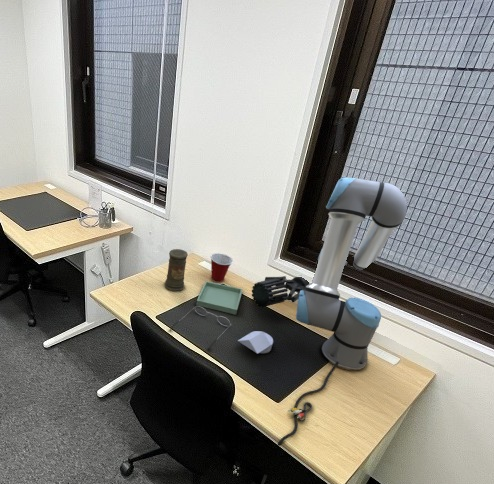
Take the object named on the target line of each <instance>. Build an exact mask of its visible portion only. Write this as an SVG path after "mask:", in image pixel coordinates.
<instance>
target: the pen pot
mask: <svg viewBox="0 0 494 484" xmlns="http://www.w3.org/2000/svg"><path fill="white" fill-rule="evenodd" d="M281 284H284V282H283V281H281V280H280V279H277V278H276V279H271V280H266V281H265V280H261V281H257V282H255V283H254V284H253V285H252V287H251V288H252V289H251V297H252V301H253V302H254V303H255V305H257V306H258V307H261V308H266V307H270V306H275V305H278V304H282V303H285V301H278V302H273V299H274V296H277V295H281V294H286V293H287V294H288V295H289V290H288V289H287V288H285V287H286V284H284V285H281ZM277 285H279V286H277Z"/></svg>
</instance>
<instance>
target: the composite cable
mask: <svg viewBox="0 0 494 484" xmlns="http://www.w3.org/2000/svg"><path fill="white" fill-rule="evenodd" d="M307 406H308V408H307ZM312 408H313V405H312V403H311V402H309V401H306V402H305V403H303V409H302V408H298V407H297V408H294V407H293V408H290V409H289V410H288V412H291V414H292V417H293V418H294V415H293V414H295V415H296V417H297V421H299V422H301V423H304V422H305V421H306V416H307V415H306V414H307V413H308V412H309V411H311V410H312ZM303 417H304V418H303Z"/></svg>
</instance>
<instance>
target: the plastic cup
mask: <svg viewBox="0 0 494 484" xmlns="http://www.w3.org/2000/svg"><path fill="white" fill-rule="evenodd" d="M210 260H211V261H210V263H211V266H210V267H211V268H210V269H211V270H210V271H211V273H210V274H211V280H212V281H213V282H215V283H221V282H224V281H225V277H226V275H227V273H228V270H229V268H230V266H231V265H232V264H233V262H234V260H233V258H232V256H229V255H227V254H225V253H221V252H215V253H211V255H210Z"/></svg>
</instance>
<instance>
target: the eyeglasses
mask: <svg viewBox="0 0 494 484" xmlns="http://www.w3.org/2000/svg"><path fill="white" fill-rule="evenodd" d="M198 307H199V308H201V309H202V310H204V311H205V312H206V314H201V313H199V312H198V311H197V310H196V309H197V308H198ZM193 309H194V311H195V313H196V314H197V315H199V316H201V317H206V316H207V315H208V314H209V315H212V316H214V317H216V320H217V322H218V323H219V324H220V325H221V326H224V327H227V328H226V329H225V330H223V332H222V333H220V335H219V336H218V338H217V339H215V340H214V341H213V342H212V343H211V344H210V345H209V348H208V351H209V350H210V349H211V347H212V346H213V345H214V344H215V343H216V342H217V340H219V338H220V337H221V336H222V335H223V334H224V333H225V331H226V330H228V329H229V328H230V327H232V326H233V324H232V323H231V321H230V319H229V318H228V317H226V316H222V315H219V316H218V315H217V314H215V313H212V312H209V311H207V308H205V307H202V306H198V305H195V307H193V308H192V309H191V311H192V310H193ZM188 314H189V312H187V314H185V315H184V317H186V316H187V315H188ZM219 317H220V318H223V319H226V320H227V321H228V323H229V324H228V325H226V324H223V323H221V322H220V321H219ZM181 320H182V318H180V319H179V320H178V321H176V322H175V323H174V324H173V325H172V326H171V328H170V329H169V332H171V331H172V329H173V328H174V327H175V325H177V324H178V323H179V322H180V321H181Z"/></svg>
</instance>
